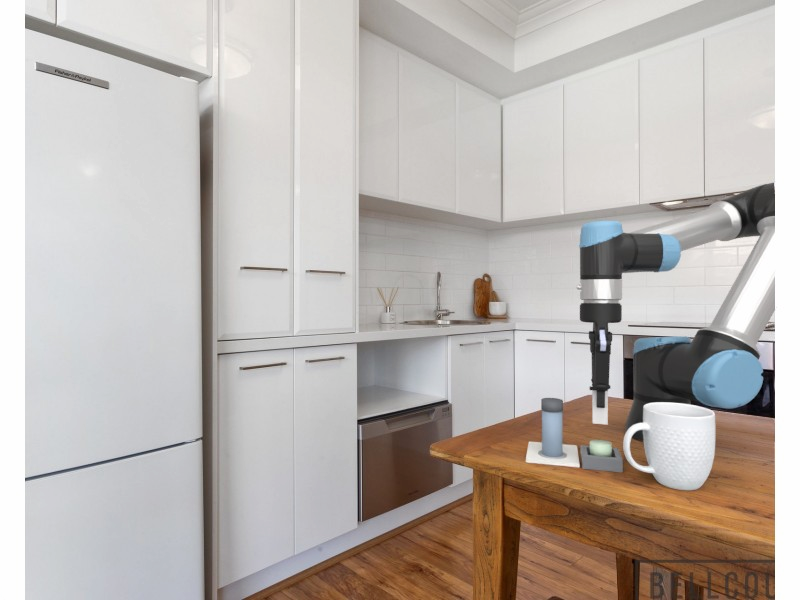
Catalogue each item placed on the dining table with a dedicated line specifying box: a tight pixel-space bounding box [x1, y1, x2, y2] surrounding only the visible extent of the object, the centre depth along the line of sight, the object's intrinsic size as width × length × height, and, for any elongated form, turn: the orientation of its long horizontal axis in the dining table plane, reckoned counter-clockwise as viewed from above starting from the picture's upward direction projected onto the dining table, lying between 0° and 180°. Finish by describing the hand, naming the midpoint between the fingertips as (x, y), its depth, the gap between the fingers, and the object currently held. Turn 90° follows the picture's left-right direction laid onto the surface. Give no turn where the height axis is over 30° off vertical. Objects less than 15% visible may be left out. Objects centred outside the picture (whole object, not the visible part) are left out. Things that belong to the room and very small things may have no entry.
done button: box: [589, 439, 613, 457], centre depth 95 cm, size 4×4×3 cm
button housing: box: [580, 444, 624, 474], centre depth 95 cm, size 7×7×2 cm
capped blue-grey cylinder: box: [540, 397, 564, 457], centre depth 99 cm, size 4×4×11 cm
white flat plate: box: [525, 440, 581, 468], centre depth 100 cm, size 10×12×1 cm
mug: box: [622, 402, 717, 491], centre depth 85 cm, size 15×11×13 cm
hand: (599, 422), depth 95 cm, fingers closed
